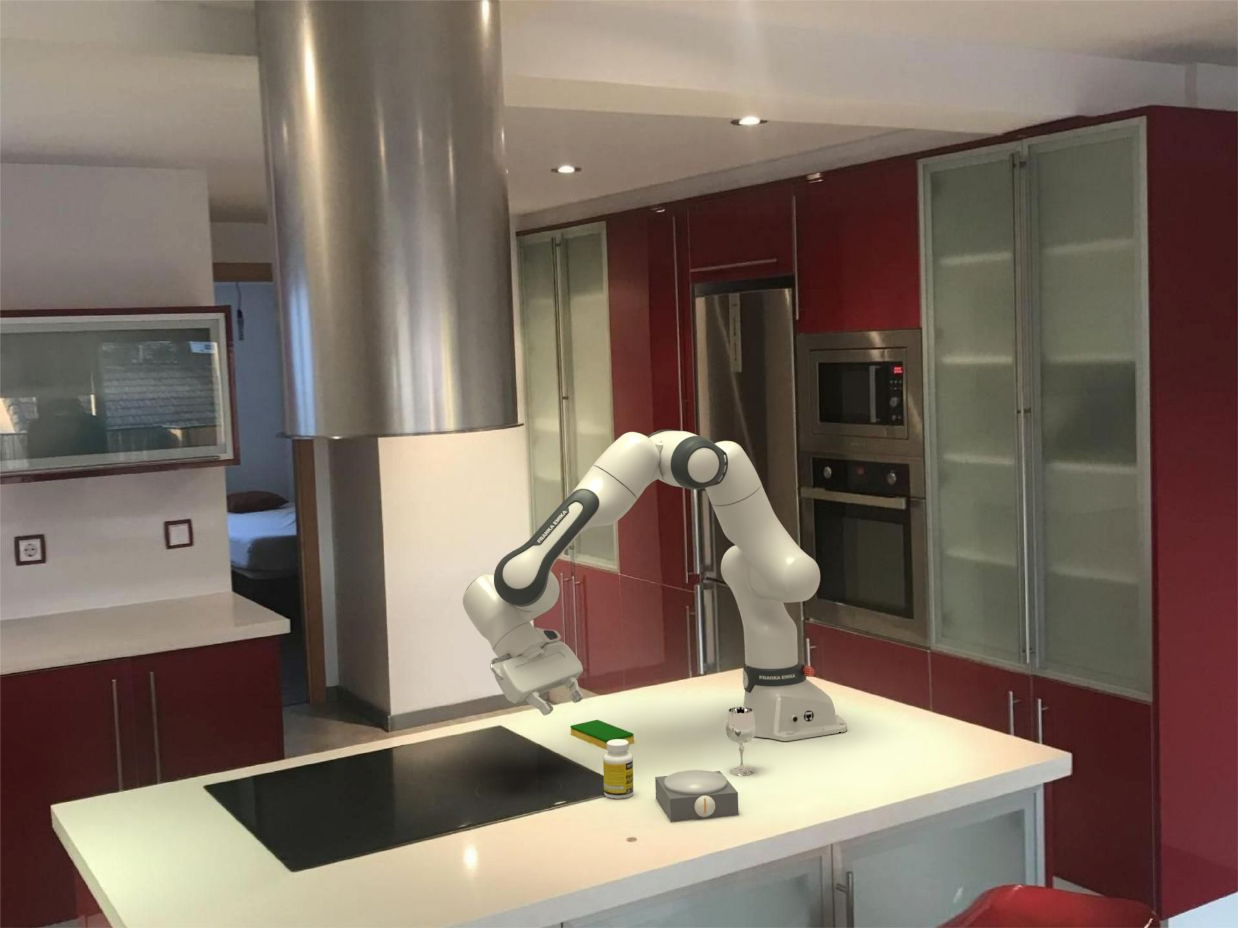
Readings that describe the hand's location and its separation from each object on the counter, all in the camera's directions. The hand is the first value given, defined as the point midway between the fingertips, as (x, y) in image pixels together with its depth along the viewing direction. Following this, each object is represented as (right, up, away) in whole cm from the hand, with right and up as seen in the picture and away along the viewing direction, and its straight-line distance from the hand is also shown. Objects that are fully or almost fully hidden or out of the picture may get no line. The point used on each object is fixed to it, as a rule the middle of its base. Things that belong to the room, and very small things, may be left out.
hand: (564, 706), depth 242 cm
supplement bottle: (+10, -15, -5) cm, 19 cm away
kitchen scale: (+24, -15, -13) cm, 31 cm away
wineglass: (+34, -14, +5) cm, 37 cm away
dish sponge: (+7, -13, +30) cm, 33 cm away
